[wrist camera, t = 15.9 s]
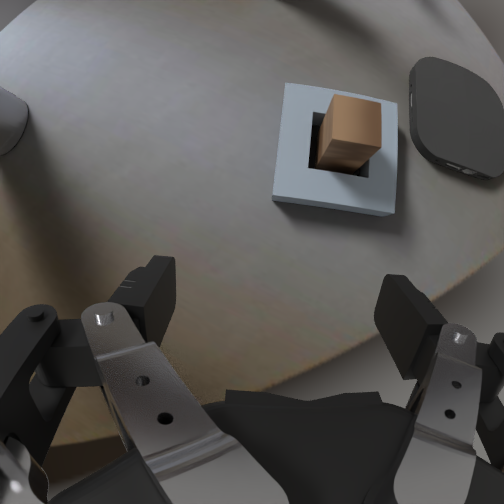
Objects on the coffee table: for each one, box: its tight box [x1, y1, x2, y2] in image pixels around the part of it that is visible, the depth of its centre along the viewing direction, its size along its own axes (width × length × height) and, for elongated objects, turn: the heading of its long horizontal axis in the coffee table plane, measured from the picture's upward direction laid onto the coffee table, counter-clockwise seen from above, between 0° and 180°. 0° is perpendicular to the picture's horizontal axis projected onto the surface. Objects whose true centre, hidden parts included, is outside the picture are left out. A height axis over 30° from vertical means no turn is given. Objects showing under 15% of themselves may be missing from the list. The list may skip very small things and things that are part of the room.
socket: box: [272, 83, 398, 217], centre depth 31 cm, size 12×12×4 cm
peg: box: [315, 94, 382, 175], centre depth 27 cm, size 4×4×10 cm
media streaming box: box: [409, 57, 504, 180], centre depth 30 cm, size 15×15×3 cm
